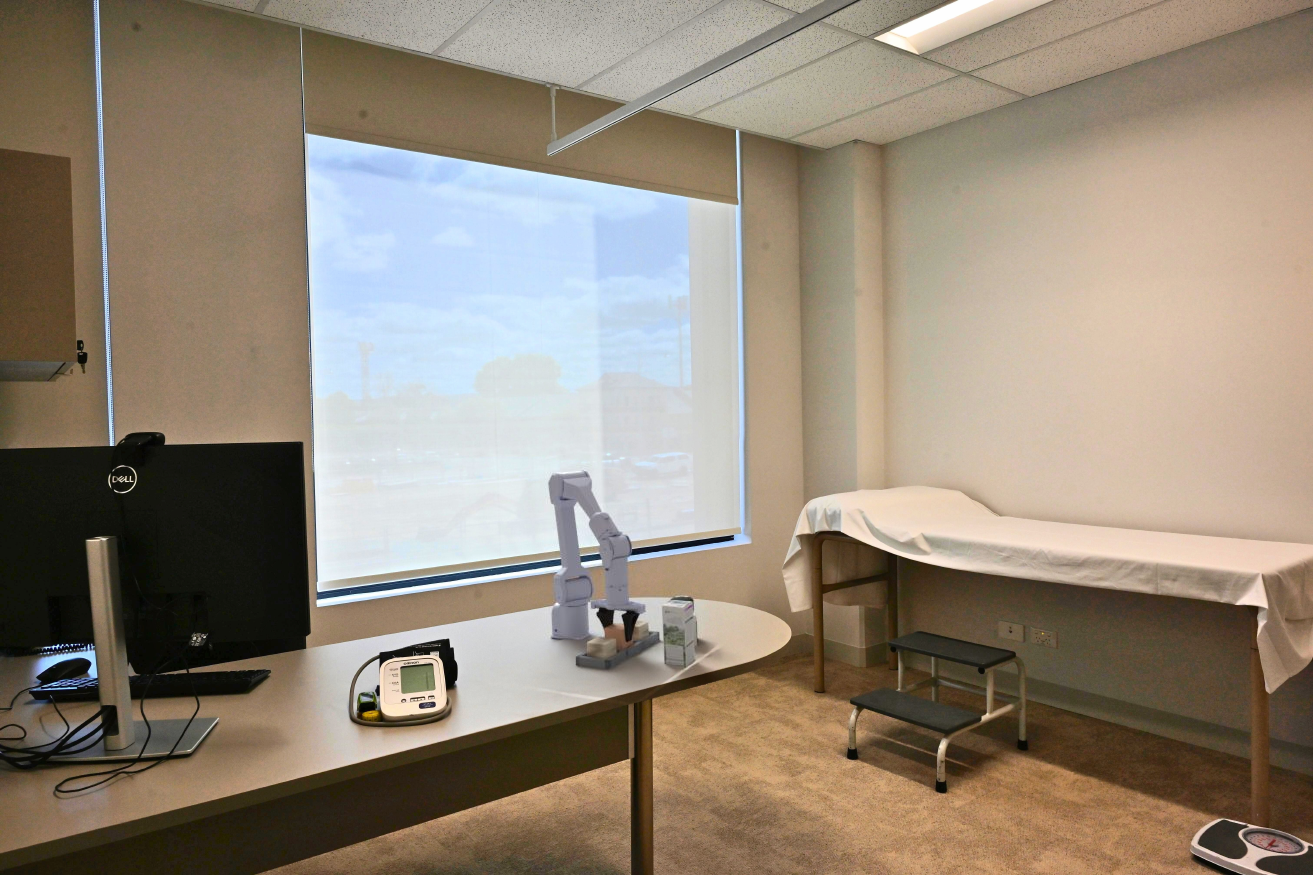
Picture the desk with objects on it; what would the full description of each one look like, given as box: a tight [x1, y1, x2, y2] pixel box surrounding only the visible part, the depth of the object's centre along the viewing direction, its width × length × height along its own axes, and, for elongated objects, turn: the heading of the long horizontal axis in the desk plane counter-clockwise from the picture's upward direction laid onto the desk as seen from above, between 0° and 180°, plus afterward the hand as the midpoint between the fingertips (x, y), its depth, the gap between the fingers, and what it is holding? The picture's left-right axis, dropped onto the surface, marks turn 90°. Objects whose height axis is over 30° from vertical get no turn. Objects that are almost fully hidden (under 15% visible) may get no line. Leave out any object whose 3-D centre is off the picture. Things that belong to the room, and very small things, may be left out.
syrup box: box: [661, 599, 696, 669], centre depth 191 cm, size 6×6×14 cm
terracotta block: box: [603, 622, 633, 649], centre depth 200 cm, size 5×5×5 cm
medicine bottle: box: [670, 595, 699, 647], centre depth 206 cm, size 7×7×12 cm
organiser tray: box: [575, 630, 660, 671], centre depth 200 cm, size 9×25×3 cm, turn 152°
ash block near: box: [586, 636, 617, 659], centre depth 193 cm, size 5×5×5 cm
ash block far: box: [633, 620, 650, 640], centre depth 207 cm, size 5×5×5 cm
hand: (619, 639), depth 200 cm, fingers closed on terracotta block, 5 cm apart
